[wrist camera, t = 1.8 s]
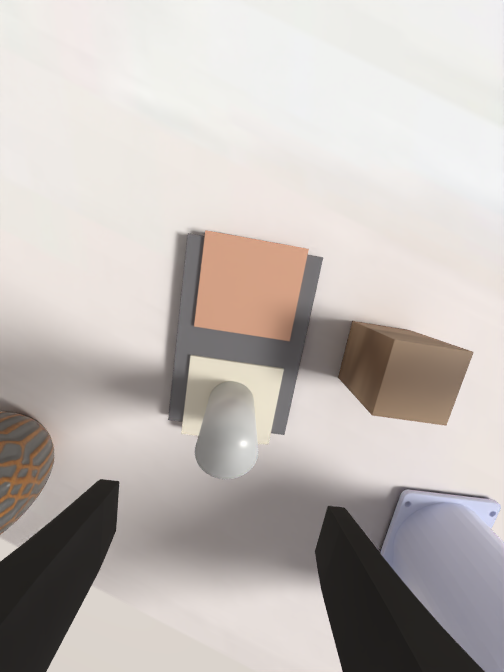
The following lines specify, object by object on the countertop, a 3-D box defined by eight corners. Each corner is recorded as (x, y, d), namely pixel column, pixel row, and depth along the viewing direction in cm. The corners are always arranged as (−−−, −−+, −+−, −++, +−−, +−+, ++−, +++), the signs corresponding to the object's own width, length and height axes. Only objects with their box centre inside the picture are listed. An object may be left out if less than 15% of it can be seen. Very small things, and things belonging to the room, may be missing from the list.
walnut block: (392, 385, 18) (446, 425, 14) (337, 377, 18) (372, 415, 13) (409, 330, 18) (473, 352, 13) (352, 320, 17) (394, 339, 12)
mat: (280, 439, 19) (282, 446, 18) (169, 425, 18) (166, 432, 18) (321, 252, 16) (325, 251, 15) (190, 229, 16) (187, 227, 15)
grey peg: (250, 425, 18) (252, 482, 13) (205, 419, 18) (191, 475, 13) (257, 384, 17) (263, 429, 12) (211, 378, 17) (199, 420, 12)
